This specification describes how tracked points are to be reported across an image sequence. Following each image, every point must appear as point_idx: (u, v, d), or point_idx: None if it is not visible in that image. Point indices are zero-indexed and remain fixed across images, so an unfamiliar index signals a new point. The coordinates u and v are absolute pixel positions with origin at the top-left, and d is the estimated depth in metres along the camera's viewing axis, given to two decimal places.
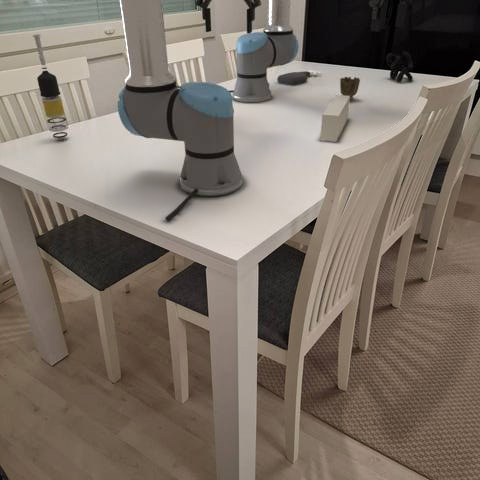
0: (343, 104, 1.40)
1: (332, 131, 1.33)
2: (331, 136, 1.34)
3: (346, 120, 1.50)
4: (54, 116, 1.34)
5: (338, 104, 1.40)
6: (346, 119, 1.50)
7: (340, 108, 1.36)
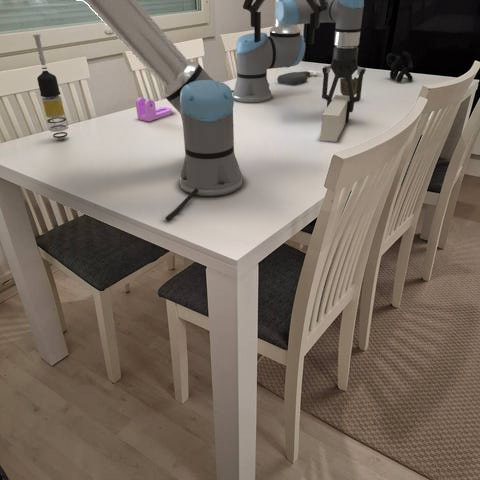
0: (343, 104, 1.40)
1: (332, 131, 1.33)
2: (331, 136, 1.34)
3: None
4: (54, 116, 1.34)
5: (338, 104, 1.40)
6: None
7: (340, 108, 1.36)
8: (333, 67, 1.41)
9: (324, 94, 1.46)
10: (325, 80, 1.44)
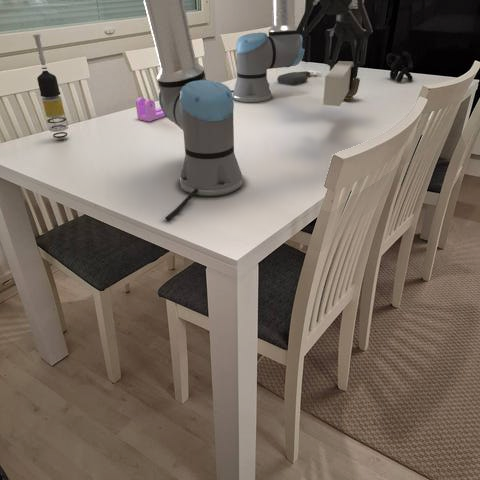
0: (347, 68, 1.34)
1: (335, 94, 1.27)
2: (334, 100, 1.28)
3: None
4: (54, 116, 1.34)
5: (342, 68, 1.34)
6: None
7: (344, 71, 1.30)
8: (336, 30, 1.35)
9: (327, 59, 1.40)
10: (328, 44, 1.38)
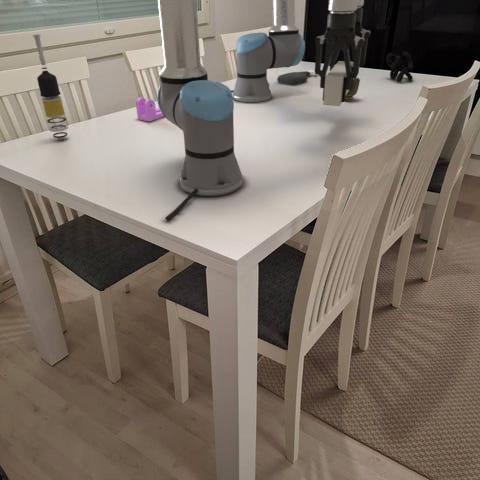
0: None
1: (335, 94, 1.27)
2: (334, 100, 1.28)
3: None
4: (54, 116, 1.34)
5: (342, 68, 1.34)
6: None
7: (344, 71, 1.30)
8: None
9: None
10: None
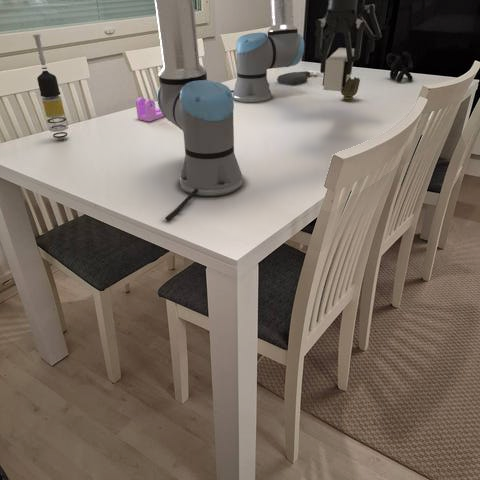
0: None
1: (336, 79, 1.25)
2: (335, 85, 1.26)
3: (350, 75, 1.42)
4: (54, 116, 1.34)
5: (342, 53, 1.32)
6: (350, 73, 1.42)
7: (345, 56, 1.28)
8: None
9: None
10: None
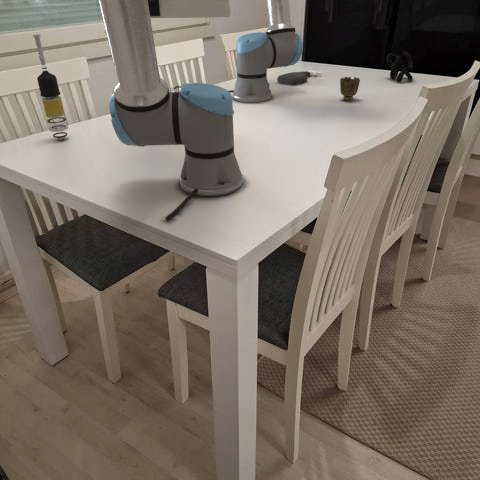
0: None
1: None
2: None
3: (219, 15, 1.17)
4: (54, 116, 1.34)
5: None
6: (218, 13, 1.17)
7: None
8: None
9: None
10: None
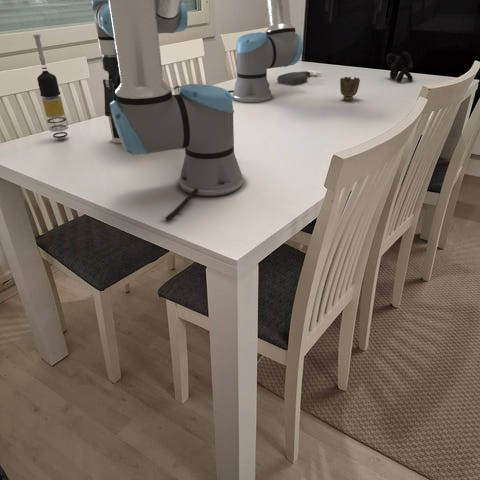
0: None
1: None
2: None
3: None
4: (54, 116, 1.34)
5: None
6: None
7: None
8: None
9: None
10: None
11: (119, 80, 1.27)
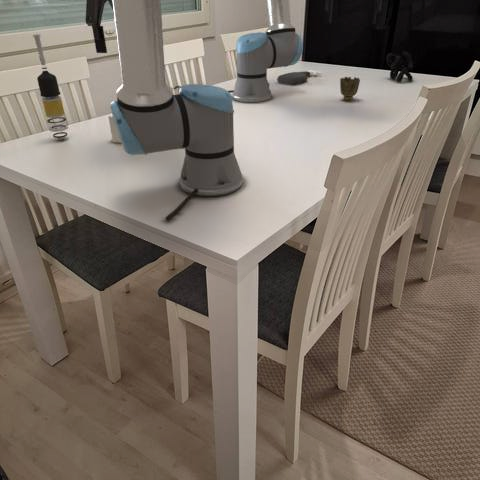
0: None
1: None
2: None
3: None
4: (54, 116, 1.34)
5: None
6: None
7: None
8: None
9: None
10: None
11: None
